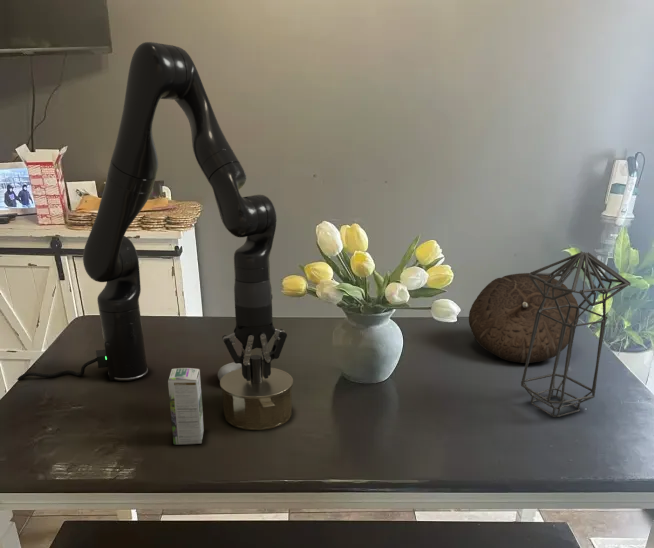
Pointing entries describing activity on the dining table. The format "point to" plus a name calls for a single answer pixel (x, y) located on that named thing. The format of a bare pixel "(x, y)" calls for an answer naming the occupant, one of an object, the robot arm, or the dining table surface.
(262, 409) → the pot
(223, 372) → the donut
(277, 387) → the lid
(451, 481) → the dining table surface
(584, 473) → the dining table surface
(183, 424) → the syrup box
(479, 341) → the brown fungus
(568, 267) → the geometric lantern
